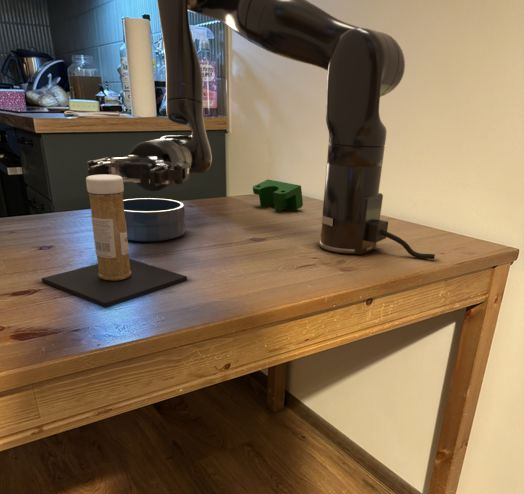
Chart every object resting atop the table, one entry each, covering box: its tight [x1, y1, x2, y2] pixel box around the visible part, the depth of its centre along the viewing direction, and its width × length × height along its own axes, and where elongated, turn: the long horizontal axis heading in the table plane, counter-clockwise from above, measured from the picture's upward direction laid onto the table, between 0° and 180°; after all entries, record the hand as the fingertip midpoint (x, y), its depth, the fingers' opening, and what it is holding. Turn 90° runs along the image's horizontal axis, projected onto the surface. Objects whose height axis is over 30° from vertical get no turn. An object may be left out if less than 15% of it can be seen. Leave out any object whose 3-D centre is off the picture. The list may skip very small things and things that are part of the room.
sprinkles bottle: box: [85, 174, 131, 281], centre depth 67 cm, size 5×5×14 cm
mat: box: [41, 258, 188, 308], centre depth 70 cm, size 14×14×1 cm
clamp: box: [252, 179, 304, 213], centre depth 119 cm, size 12×6×9 cm, turn 37°
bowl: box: [123, 197, 186, 243], centre depth 93 cm, size 13×13×6 cm
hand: (122, 176), depth 69 cm, fingers open, 8 cm apart
